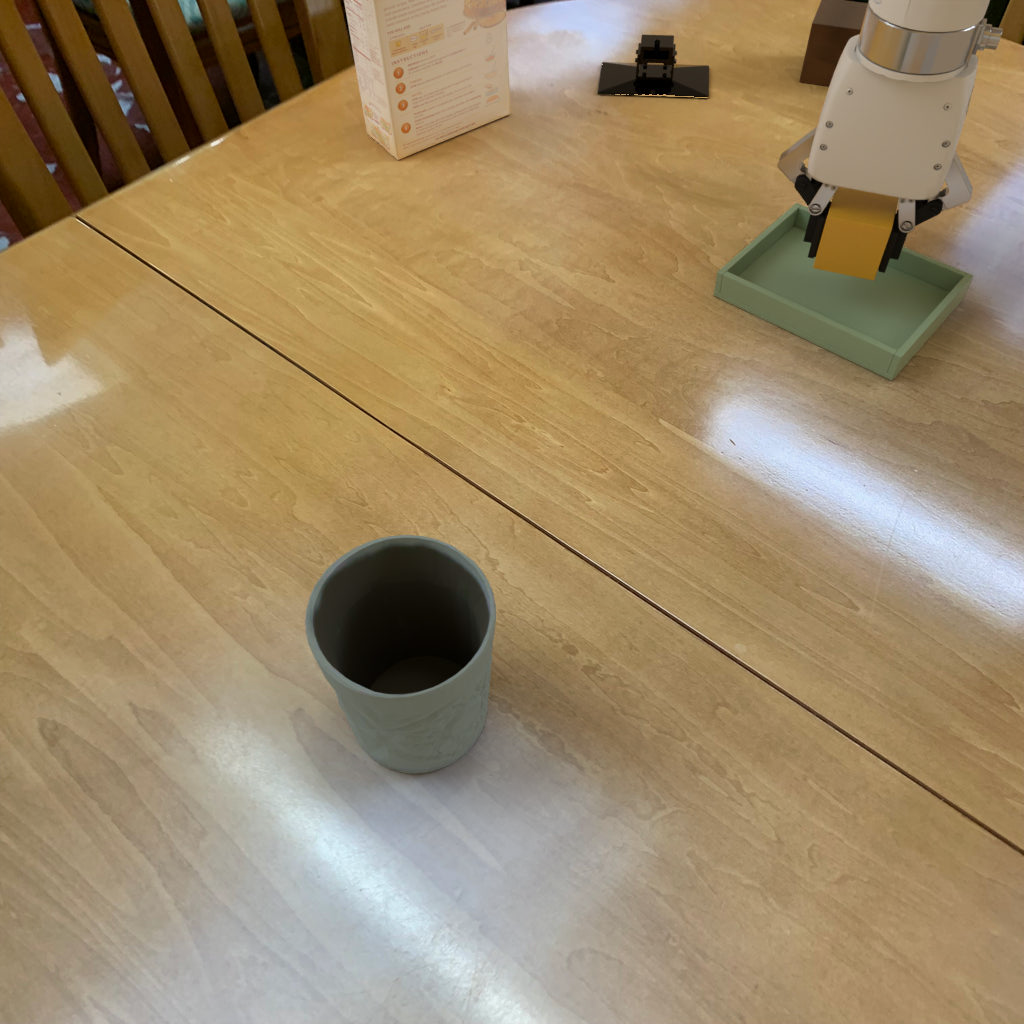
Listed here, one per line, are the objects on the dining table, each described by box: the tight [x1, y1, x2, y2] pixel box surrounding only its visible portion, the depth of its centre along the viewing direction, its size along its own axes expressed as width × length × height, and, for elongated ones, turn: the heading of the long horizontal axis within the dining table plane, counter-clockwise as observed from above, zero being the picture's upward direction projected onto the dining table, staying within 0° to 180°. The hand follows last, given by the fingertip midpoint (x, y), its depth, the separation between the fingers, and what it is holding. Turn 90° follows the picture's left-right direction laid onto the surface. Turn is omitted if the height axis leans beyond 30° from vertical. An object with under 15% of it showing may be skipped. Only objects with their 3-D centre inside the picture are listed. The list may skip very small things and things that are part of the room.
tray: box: [713, 202, 975, 381], centre depth 81 cm, size 17×13×3 cm
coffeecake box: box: [343, 0, 512, 161], centre depth 94 cm, size 15×7×20 cm, turn 126°
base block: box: [799, 0, 868, 87], centre depth 103 cm, size 6×6×6 cm
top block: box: [813, 187, 899, 280], centre depth 76 cm, size 5×5×5 cm
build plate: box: [597, 34, 710, 97], centre depth 104 cm, size 12×7×5 cm, turn 82°
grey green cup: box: [304, 534, 497, 774], centre depth 54 cm, size 10×10×12 cm
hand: (848, 253), depth 78 cm, fingers closed on top block, 5 cm apart
